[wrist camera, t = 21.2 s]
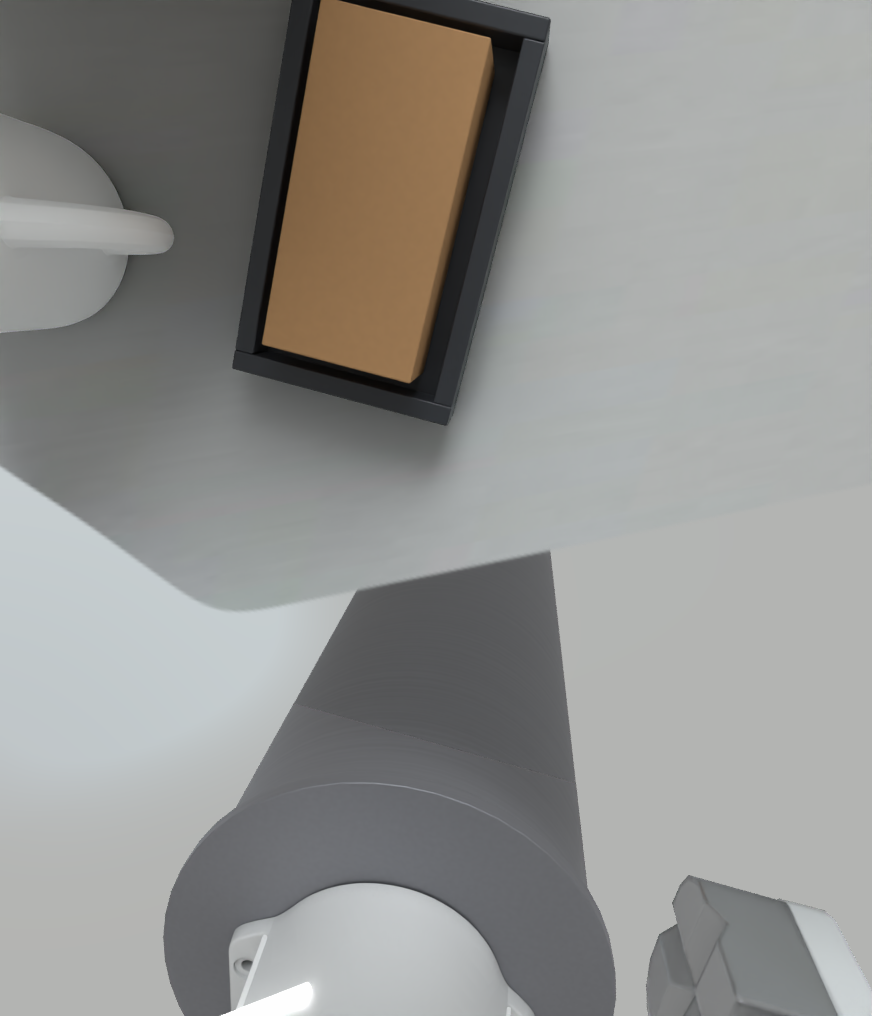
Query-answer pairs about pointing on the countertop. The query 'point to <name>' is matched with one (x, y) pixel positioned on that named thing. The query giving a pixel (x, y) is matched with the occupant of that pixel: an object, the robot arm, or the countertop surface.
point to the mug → (62, 231)
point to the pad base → (490, 183)
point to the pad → (376, 188)
